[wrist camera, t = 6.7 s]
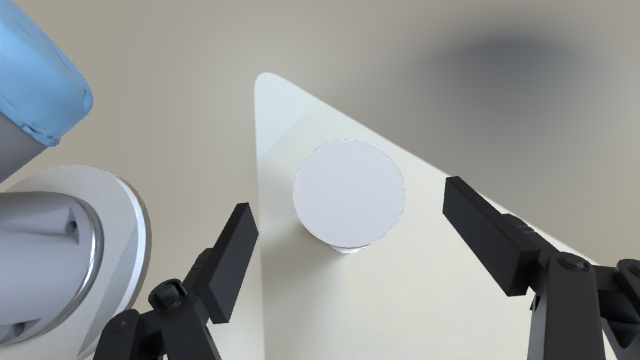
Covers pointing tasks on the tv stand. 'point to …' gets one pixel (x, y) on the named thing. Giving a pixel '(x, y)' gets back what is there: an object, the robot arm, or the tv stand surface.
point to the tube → (348, 194)
